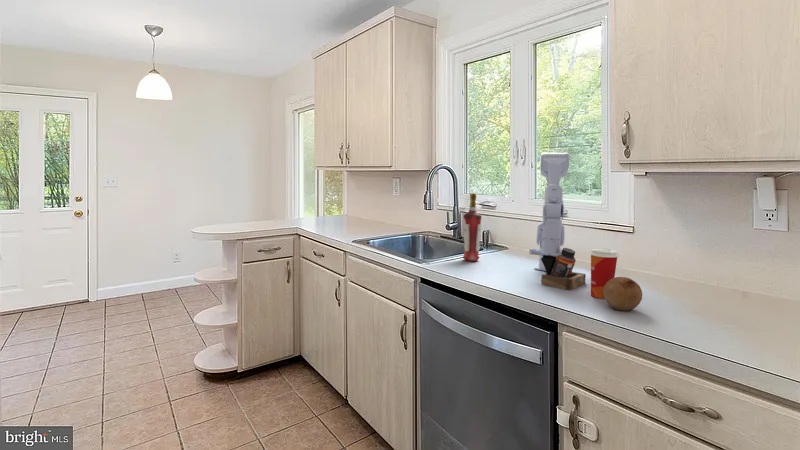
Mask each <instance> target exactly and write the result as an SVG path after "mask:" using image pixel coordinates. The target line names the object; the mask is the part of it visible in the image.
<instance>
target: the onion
mask: <svg viewBox="0 0 800 450" xmlns="http://www.w3.org/2000/svg"><path fill="white" fill-rule="evenodd" d="M603 294H604V295H603V298H604V299H603V300H604V301H605V302H607V304H608V305H609V306H610V307H611V308H612V309H615V310H617V311H618V310H619V311H623V312H624V311H632V310H634V309H635V308H637V307H639V305H640V303H641V302H642V299H643V291H642V288H641V286H640V285H639V283H638V282H636V281H635V280H633V279H632V278H629V277H626V276H615V277H614V278H612V279H610V280H609V281H608V282H607V283H606V284H605V286H604V289H603Z"/></svg>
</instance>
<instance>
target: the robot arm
mask: <svg viewBox="0 0 800 450" xmlns="http://www.w3.org/2000/svg"><path fill="white" fill-rule="evenodd" d="M569 166H570V153H568V152H567V151H566V152H542V153H541V154H540V167H539V168H540V176H542V177H545V178H546V179H545V180H546V182H547V186H546V187H545V189H544V203H543V206H542V221H541V222H540V223H539V224H538V225H537V230H536V245H537V246H539V248H533V247H532V248H529V252H528V253H529V255H534V256H535V255H536V256H538V257H539V258H538V266H536V267H534V268H533V269H534V270H537V271H544V272H545V273H546V274H545V275H550V274H551V271H552V268H553V266H554V263H555V260H556V257H557V256H558V255H561V254H559V253H562V250H563V248H562V247H563V246H564V245H565V235H566V234H565V226H564V224H562V222H563V219H564V215H565V205H564V200H563V197H564V196H563V193H564V189H563V187H562V186H561V185H560V181H561V179H562V178H563V177H566V176H567V174H568V169H569V168H570V167H569Z"/></svg>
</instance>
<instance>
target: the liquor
mask: <svg viewBox="0 0 800 450" xmlns="http://www.w3.org/2000/svg"><path fill="white" fill-rule="evenodd" d="M476 200H477V193H475V192H474V193H469V201H470V202H469V208H468V212H466V213H464V214H463V256H462V258H463V259H464V260H465V261H466V262H471V263H472V262H474V263H475V262H477V261H478V260H480V255H479V252H480V251H479V250H480V237H481V227H482V215H481V214H480V213H478V212H477V203H476Z"/></svg>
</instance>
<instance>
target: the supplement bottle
mask: <svg viewBox="0 0 800 450" xmlns="http://www.w3.org/2000/svg"><path fill="white" fill-rule="evenodd" d="M559 254H561V255H558V256H557V257H556V260H555V263H554V266H553V268H552V271H551V274H550V275H551V276H556V277H562V278H567V279H568V278H570V275H571V272H573V269H574V266H575V264H576V258H575V254H576V251H575V250H573V249H571V248H568V247H563V248H562V253H559Z"/></svg>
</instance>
